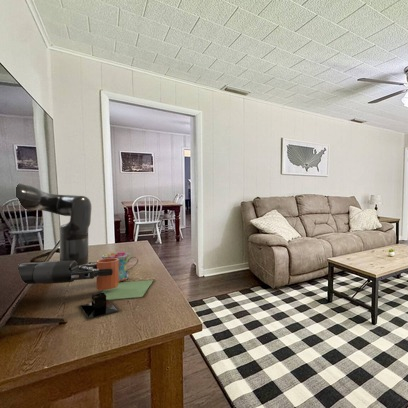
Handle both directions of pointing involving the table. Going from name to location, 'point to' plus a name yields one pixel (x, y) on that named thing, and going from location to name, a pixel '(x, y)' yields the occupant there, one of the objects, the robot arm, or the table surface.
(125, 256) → the mug
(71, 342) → the table surface
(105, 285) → the pot
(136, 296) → the placemat
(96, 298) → the black stand
